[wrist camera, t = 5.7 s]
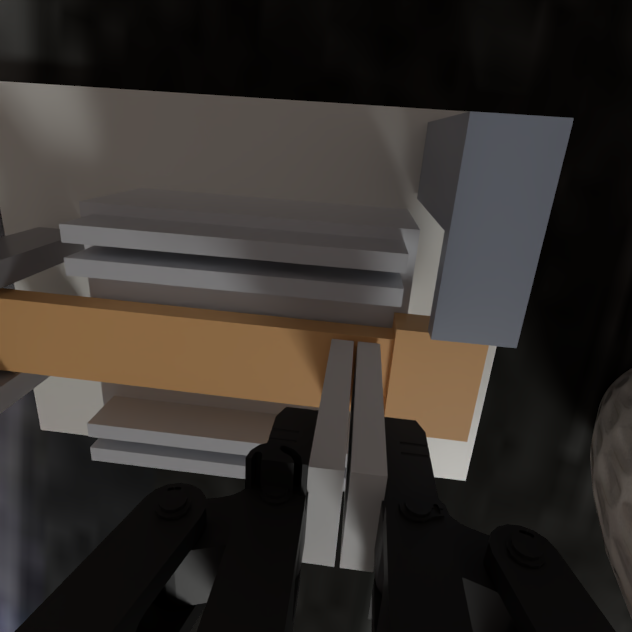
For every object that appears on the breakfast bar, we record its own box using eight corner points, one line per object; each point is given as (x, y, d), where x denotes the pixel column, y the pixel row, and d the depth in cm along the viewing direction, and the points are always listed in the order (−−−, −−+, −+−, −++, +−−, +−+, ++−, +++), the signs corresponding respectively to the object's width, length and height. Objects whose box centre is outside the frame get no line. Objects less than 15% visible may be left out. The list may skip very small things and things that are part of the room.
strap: (-8, 362, 19) (-40, 380, 18) (-29, 270, 18) (-65, 282, 16) (459, 416, 18) (467, 441, 16) (479, 320, 16) (490, 339, 15)
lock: (407, 267, 21) (430, 339, 13) (428, 122, 18) (470, 110, 11) (461, 271, 20) (516, 348, 13) (488, 126, 18) (574, 117, 11)
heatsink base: (52, 419, 27) (-66, 525, 20) (-7, 82, 21) (-215, 50, 13) (461, 468, 26) (501, 603, 18) (540, 117, 19) (653, 104, 12)
